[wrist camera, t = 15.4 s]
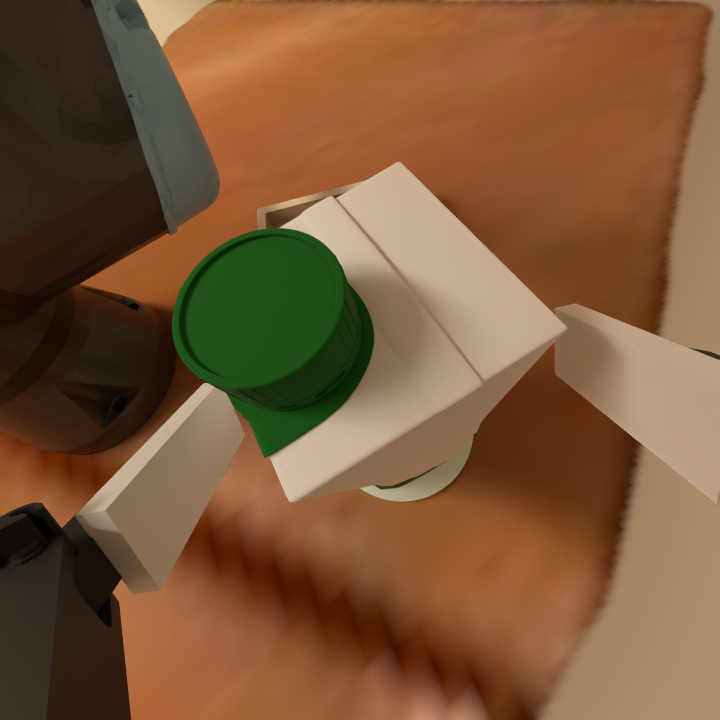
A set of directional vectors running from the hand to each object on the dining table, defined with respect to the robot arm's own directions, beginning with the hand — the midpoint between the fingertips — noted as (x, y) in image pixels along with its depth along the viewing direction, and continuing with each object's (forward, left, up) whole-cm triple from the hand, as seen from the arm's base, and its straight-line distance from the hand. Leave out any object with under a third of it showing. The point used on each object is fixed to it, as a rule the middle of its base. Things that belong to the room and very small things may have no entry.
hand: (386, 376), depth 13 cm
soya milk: (0, +1, -13) cm, 13 cm away
